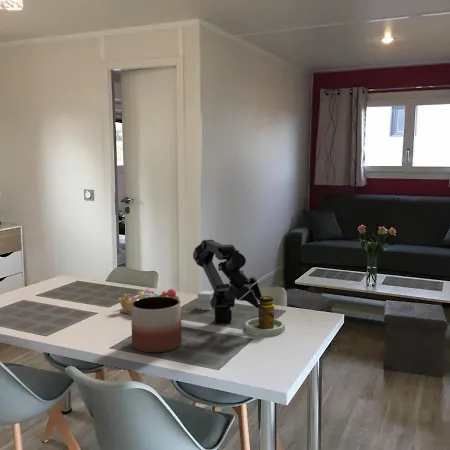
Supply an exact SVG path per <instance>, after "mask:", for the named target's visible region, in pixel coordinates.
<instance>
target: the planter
mask: <svg viewBox="0 0 450 450" xmlns="http://www.w3.org/2000/svg"><path fill="white" fill-rule="evenodd" d="M130 316H131V344H132V347H134V349H136V350H137V351H140V352H144V353H164V352H168V351H172V350H174V349H176V348H177V347H179V346H180V345H181V344H182V340H183V339H182V337H183V336H182V335H183V334H182V311H181V300H180V299H179V300H178V299H176V298H173V297H168V296H153V297H145V298H141V299H138V300H135V301H133V302H132V303H131V315H130Z"/></svg>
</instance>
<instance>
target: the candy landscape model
mask: <svg viewBox="0 0 450 450" xmlns="http://www.w3.org/2000/svg"><path fill="white" fill-rule="evenodd" d="M153 296H166V297H173V298H176V299H178V300H180V297H179V296H178V295H177V293H176V290H175V289H174V288H170V289H168V290H167V291H166V290H165V291H162V292H161V294H159V293H158V292H157V291H152V289H150V288H147V289H145V288H143V289H142V290H140V291H138V292H137V296H135V294H133V295H132V296H131V295H130V293H124V294H123V297H122V296H120V297H119V298H118V300H119V304H120V306H121V308H122V309H121V310H120V312H121V313H125V314H128V315H129V316H131V303H132V302H133V301H135V300H138V299H141V298H145V297H153Z"/></svg>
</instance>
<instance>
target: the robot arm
mask: <svg viewBox="0 0 450 450" xmlns="http://www.w3.org/2000/svg"><path fill="white" fill-rule="evenodd" d="M214 256H215V258H216V259H217V260H218V261H221V262H220V263H218V264H217V267H218V270H217V267H216V266H215V263H214V262H213V260H214ZM192 258H193V260H194V261H195V263H196V265H197V266H199V267H200V268H203V271H204V273H205V276H206V277H207V279H208V281H209V283H210V285H211V287H212V291H214V293H213V297H212V299H211V301H210V304H211V307H212V308H213V309H214V320H213V321H214V324H215V325H217V324H218V325H220V324H226V325H227V324H231V323H232V320H233V319H232V316H233V315H232V314H233V311H232V308H234V307H235V304H236V303H235V302H236V300H237V301H246V302H247V303H249V304H250V305H252V306H253V307H255V308H257V309H259V304H260V303H259V302H260V297H262V296H263V295H262V292H261V289H260V285H259V282H258V279H257V277H255V276H251V277H247V276H246V275H245V272H244V270H242V268H243V267H244V266H246V263H247V259H246V257H245V255H244V254H242V253H240V250H238V249H237V248H236V247H235V246H234V245H233V244H222V243H220V242H218V241H215V240H214V239H212V238H211V239H203V240H202V241H201V242H200V243H199V245H197V246H196V247H195V248H194V251H193V253H192ZM223 260H224V261H223ZM218 271H219V272H222V273H223V274H224V275H225V276H226V278H227V279H228V280H229V283H224V281H223V280H222V278H221V275H220V274H219V272H218ZM258 301H259V302H258ZM213 309H212V310H213Z"/></svg>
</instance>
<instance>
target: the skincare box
mask: <svg viewBox="0 0 450 450" xmlns="http://www.w3.org/2000/svg"><path fill="white" fill-rule="evenodd" d="M213 293H214V290H201V291H200V292H198V293H197V309H198V310H200V309H201V310H204V311H212V310H213V309H212V307H211V304H210V301H211V299H212V297H213ZM201 310H200V311H201Z"/></svg>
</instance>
